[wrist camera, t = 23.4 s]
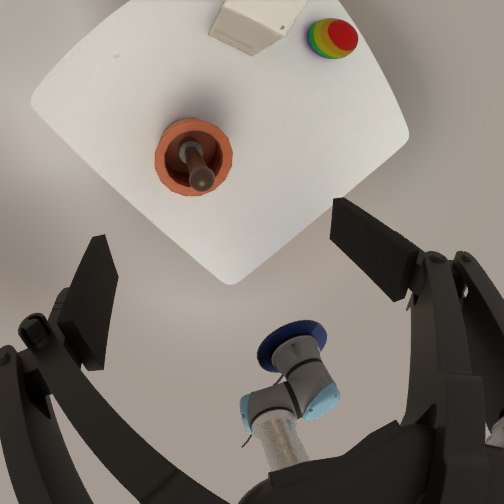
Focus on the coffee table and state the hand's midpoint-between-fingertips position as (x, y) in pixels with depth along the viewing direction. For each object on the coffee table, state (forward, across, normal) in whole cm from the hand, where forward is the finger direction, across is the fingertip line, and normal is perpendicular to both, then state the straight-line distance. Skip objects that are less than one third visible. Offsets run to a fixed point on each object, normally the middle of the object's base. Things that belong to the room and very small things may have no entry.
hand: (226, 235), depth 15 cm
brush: (+34, 0, 0) cm, 34 cm away
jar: (+35, 0, 0) cm, 35 cm away
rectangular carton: (+35, +10, +22) cm, 42 cm away
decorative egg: (+35, +25, +20) cm, 48 cm away
